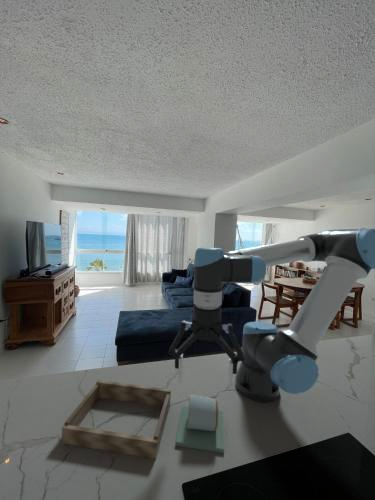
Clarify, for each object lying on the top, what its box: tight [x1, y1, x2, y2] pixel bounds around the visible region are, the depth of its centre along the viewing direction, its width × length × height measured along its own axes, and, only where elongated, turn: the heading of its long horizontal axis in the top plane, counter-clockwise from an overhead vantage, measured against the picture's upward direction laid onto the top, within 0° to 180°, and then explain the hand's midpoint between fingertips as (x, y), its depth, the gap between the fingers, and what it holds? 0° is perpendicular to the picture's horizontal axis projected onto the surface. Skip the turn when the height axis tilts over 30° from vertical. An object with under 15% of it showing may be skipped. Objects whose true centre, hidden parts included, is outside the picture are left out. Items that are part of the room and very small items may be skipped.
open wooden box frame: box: [61, 379, 172, 459], centre depth 61 cm, size 24×17×5 cm
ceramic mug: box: [187, 394, 219, 431], centre depth 62 cm, size 11×8×8 cm
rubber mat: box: [175, 405, 225, 454], centre depth 60 cm, size 12×12×1 cm
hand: (205, 381), depth 60 cm, fingers open, 13 cm apart
